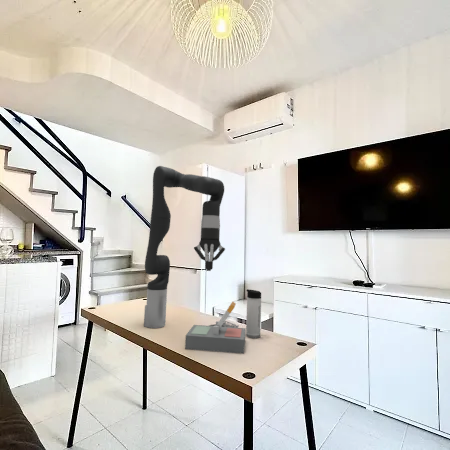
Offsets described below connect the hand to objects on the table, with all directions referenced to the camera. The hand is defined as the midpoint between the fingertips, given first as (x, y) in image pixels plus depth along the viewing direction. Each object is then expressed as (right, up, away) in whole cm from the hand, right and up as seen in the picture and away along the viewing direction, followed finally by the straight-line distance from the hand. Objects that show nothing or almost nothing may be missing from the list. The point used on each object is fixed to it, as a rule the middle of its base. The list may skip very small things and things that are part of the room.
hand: (208, 270), depth 112 cm
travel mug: (+19, -31, +11) cm, 37 cm away
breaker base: (+3, -29, -1) cm, 29 cm away
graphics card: (+3, -31, +15) cm, 35 cm away
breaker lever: (+3, -23, 0) cm, 23 cm away
